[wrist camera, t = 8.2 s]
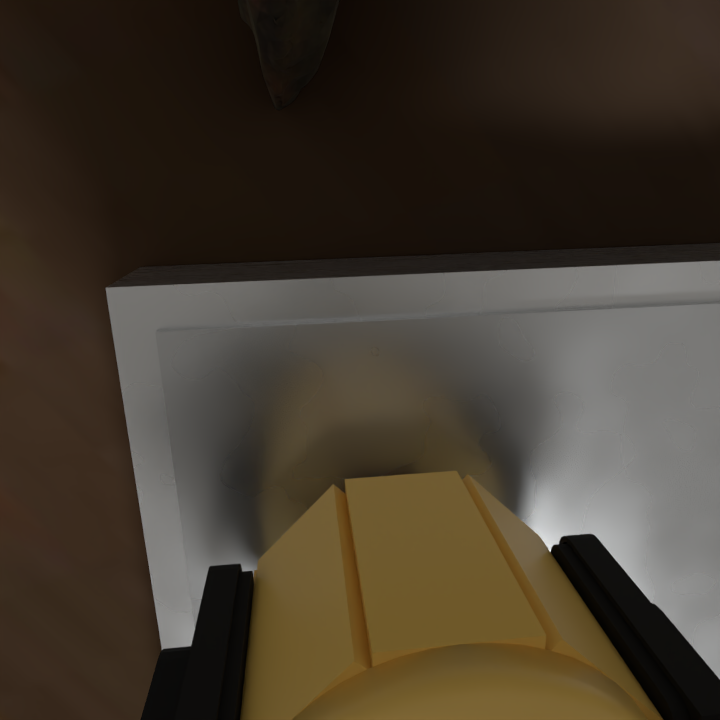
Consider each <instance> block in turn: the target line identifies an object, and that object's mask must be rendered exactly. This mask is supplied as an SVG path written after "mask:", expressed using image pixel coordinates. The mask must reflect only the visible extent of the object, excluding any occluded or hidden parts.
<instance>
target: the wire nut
mask: <svg viewBox="0 0 720 720" xmlns="http://www.w3.org/2000/svg"><path fill="white" fill-rule="evenodd" d="M240 720H663V718H662V717H661V715H660V714H659V712H658V711H657V709H656V708H655V706H654V705H653V703H652V702H651V700H650V699H649V697H648V696H647V694H646V693H645V692H644V690H643V689H642V687H641V686H640V684H639V683H638V681H637V680H636V678H635V677H634V675H633V674H632V672H631V671H630V669H629V668H628V666H627V665H626V663H625V662H624V660H623V659H622V657H621V656H620V654H619V653H618V652H617V650H616V649H615V647H614V646H613V644H612V643H611V641H610V640H609V638H608V637H607V635H606V634H605V632H604V631H603V629H602V628H601V626H600V625H599V623H598V622H597V620H596V619H595V617H594V616H593V614H592V613H591V611H590V610H589V609H588V607H587V606H586V604H585V603H584V601H583V600H582V598H581V597H580V595H579V594H578V592H577V591H576V589H575V588H574V586H573V585H572V583H571V582H570V580H569V579H568V577H567V576H566V574H565V573H564V571H563V570H562V569H561V567H560V566H559V564H558V563H557V561H556V560H555V558H554V557H553V555H552V554H551V552H550V551H549V549H548V548H547V546H546V545H545V543H544V542H543V540H542V539H541V537H540V536H539V535H538V534H537V533H535V532H534V531H533V530H532V529H531V528H530V527H528V526H527V525H526V524H525V523H524V522H523V521H522V520H520V519H519V518H518V517H517V516H516V515H515V514H513V513H512V512H511V511H510V510H509V509H508V508H507V507H505V506H504V505H503V504H502V503H501V502H500V501H498V500H497V499H496V498H495V497H494V496H493V495H491V494H490V493H489V492H488V491H487V490H486V489H485V488H483V487H482V486H481V485H480V484H479V483H478V482H476V481H475V480H474V479H473V478H472V477H471V476H470V475H468V474H467V475H466V476H465V477H464V478H463V479H461V477H460V476H459V474H458V472H457V471H446V472H432V473H419V474H405V475H392V476H378V477H365V478H352V479H345V493H344V492H343V491H341V490H340V489H339V488H338V487H336V486H335V485H334V484H333V485H332V486H331V487H330V488H329V489H328V490H327V491H326V492H325V493H324V494H323V495H322V496H321V497H320V498H319V499H318V500H317V501H316V502H315V503H314V504H313V505H312V506H311V507H310V508H309V509H308V510H307V511H306V512H305V513H304V514H303V515H302V516H301V517H300V518H299V519H298V520H297V521H296V522H295V523H294V524H293V525H292V526H291V527H290V528H289V529H288V530H287V531H286V532H285V533H284V534H283V535H282V536H281V538H280V539H279V540H278V541H277V542H276V543H275V544H274V545H273V546H272V547H271V548H270V549H269V550H268V551H267V552H266V553H265V554H264V555H263V556H262V557H261V558H260V559H259V560H258V565H257V570H254V590H253V600H252V609H251V619H250V629H249V638H248V648H247V657H246V667H245V677H244V686H243V696H242V706H241V715H240Z"/></svg>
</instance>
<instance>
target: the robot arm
mask: <svg viewBox="0 0 720 720" xmlns="http://www.w3.org/2000/svg"><path fill="white" fill-rule="evenodd" d="M551 554H552V555H553V557H554V558H555V560H556V561H557V563H558V564H559V566H560V567H561V569H562V570H563V571H564V573H565V574H566V576H567V577H568V579H569V580H570V582H571V583H572V585H573V586H574V588H575V589H576V591H577V592H578V594H579V595H580V597H581V598H582V600H583V601H584V603H585V604H586V606H587V607H588V609H589V610H590V611H591V613H592V614H593V616H594V617H595V619H596V620H597V622H598V623H599V625H600V626H601V628H602V629H603V631H604V632H605V634H606V635H607V637H608V638H609V640H610V641H611V643H612V644H613V646H614V647H615V649H616V650H617V652H618V653H619V654H620V656H621V657H622V659H623V660H624V662H625V663H626V665H627V666H628V668H629V669H630V671H631V672H632V674H633V675H634V677H635V678H636V680H637V681H638V683H639V684H640V686H641V687H642V689H643V690H644V692H645V693H646V694H647V696H648V697H649V699H650V700H651V702H652V703H653V705H654V706H655V708H656V709H657V711H658V712H659V714H660V715H661V717H662V718H663V720H720V679H719V678H718V677H717V675H716V674H715V673H714V672H713V671H712V670H711V668H710V667H709V666H708V665H707V664H706V662H705V661H704V660H703V659H702V658H701V656H700V655H699V654H698V653H697V652H696V650H695V649H694V648H693V647H692V646H691V645H690V643H689V642H688V641H687V640H686V639H685V637H684V636H683V635H682V634H681V633H680V631H679V630H678V629H677V628H676V627H675V625H674V624H673V623H672V622H671V621H670V620H669V618H668V617H667V616H666V615H665V614H664V612H663V611H662V610H661V609H660V608H659V607H658V606H657V605H655V604H653V603H651V602H650V601H649V600H648V598H647V597H646V596H645V595H644V594H643V592H642V591H641V590H640V589H639V588H638V586H637V585H636V584H635V583H634V581H633V580H632V579H631V578H630V577H629V575H628V574H627V573H626V572H625V571H624V569H623V568H622V567H621V566H620V565H619V563H618V562H617V561H616V560H615V559H614V557H613V556H612V555H611V554H610V553H609V551H608V550H607V549H606V548H605V547H604V545H603V544H602V543H601V542H600V541H599V539H598V538H597V537H596V536H595V535H594V534H580V535H568V536H563V537H561V539H560V541H559V544H556V545H553V546H552V548H551ZM253 590H254V577H253V571H243V572H242V567H241V564H240V563H239V564H227V565H216V566H210V567H209V569H208V573H207V577H206V582H205V586H204V591H203V595H202V600H201V604H200V609H199V613H198V618H197V622H196V626H195V631H194V635H193V640H192V644H191V646H187V647H177V648H166V649H163V650H162V651H161V653H160V655H159V658H158V661H157V665H156V668H155V672H154V675H153V679H152V682H151V685H150V689H149V692H148V696H147V699H146V703H145V706H144V710H143V713H142V717H141V720H240V715H241V706H242V696H243V686H244V677H245V667H246V657H247V648H248V638H249V629H250V619H251V609H252V600H253Z"/></svg>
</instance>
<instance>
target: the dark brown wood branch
mask: <svg viewBox="0 0 720 720" xmlns="http://www.w3.org/2000/svg"><path fill="white" fill-rule="evenodd" d="M339 2H340V0H238V5H239V11H240V16H241V19H242V20H243V21H245V22H246V23H247V24H248V25H249V27H250V28H251V30H252V32H253V33H254V37H255V40H256V45H257V49H258V54H259V59H260V64H261V68H262V73H263V78H264V80H265V83H266V86H267V88H268V91H269V94H270V97H271V99H272V102H273V105H274V107H275V109H277V110H281V109H283V108H284V107H286V106H287V105H289V104H290V103H292V102H293V101H294V100H295V99H296V97H297V96H298V94H299V92H300V90H301V89H302V88H303V87H305V86H306V85H307V84H308V82H309V81H310V80H311V79H312V77H313V76H314V75H315V74H316V72H317V70H318V68H319V65H320V63H321V60H322V57H323V55H324V52H325V49H326V47H327V44H328V41H329V37H330V34H331V30H332V27H333V23H334V20H335V16H336V11H337V7H338V3H339Z"/></svg>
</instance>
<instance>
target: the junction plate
mask: <svg viewBox="0 0 720 720" xmlns="http://www.w3.org/2000/svg"><path fill="white" fill-rule="evenodd" d="M106 295H107V301H108V307H109V314H110V320H111V327H112V333H113V339H114V346H115V352H116V359H117V365H118V371H119V378H120V384H121V391H122V397H123V404H124V410H125V416H126V423H127V429H128V436H129V442H130V448H131V455H132V461H133V468H134V474H135V480H136V487H137V493H138V500H139V506H140V512H141V519H142V525H143V532H144V538H145V544H146V551H147V557H148V564H149V570H150V576H151V583H152V589H153V596H154V602H155V608H156V615H157V621H158V628H159V634H160V640H161V647H162V650H163V649H166V648H177V647H187V646H191V644H192V640H193V635H194V631H195V626H196V622H197V618H198V613H199V609H200V604H201V600H202V595H203V591H204V586H205V582H206V577H207V573H208V569H209V567H210V566H216V565H227V564H239V563H240V564H241V567H242V572H243V571H253V577H254V570H257V565H258V560H259V559H260V558H261V557H262V556H263V555H264V554H265V553H266V552H267V551H268V550H269V549H270V548H271V547H272V546H273V545H274V544H275V543H276V542H277V541H278V540H279V539H280V538H281V536H282V535H283V534H284V533H285V532H286V531H287V530H288V529H289V528H290V527H291V526H292V525H293V524H294V523H295V522H296V521H297V520H298V519H299V518H300V517H301V516H302V515H303V514H304V513H305V512H306V511H307V510H308V509H309V508H310V507H311V506H312V505H313V504H314V503H315V502H316V501H317V500H318V499H319V498H320V497H321V496H322V495H323V494H324V493H325V492H326V491H327V490H328V489H329V488H330V487H331V486H332V485H333V484H334V485H335V486H336V487H338V488H339V489H340V490H341V491H343V492H344V493H345V479H352V478H365V477H378V476H392V475H405V474H419V473H432V472H446V471H457V472H458V474H459V476H460V477H461V479H463V478H464V477H465V476H466V475H467V474H468V475H470V476H471V477H472V478H473V479H474V480H475V481H476V482H478V483H479V484H480V485H481V486H482V487H483V488H485V489H486V490H487V491H488V492H489V493H490V494H491V495H493V496H494V497H495V498H496V499H497V500H498V501H500V502H501V503H502V504H503V505H504V506H505V507H507V508H508V509H509V510H510V511H511V512H512V513H513V514H515V515H516V516H517V517H518V518H519V519H520V520H522V521H523V522H524V523H525V524H526V525H527V526H528V527H530V528H531V529H532V530H533V531H534V532H535V533H537V534H538V535H539V536H540V537H541V539H542V540H543V542H544V543H545V545H546V546H547V548H548V549H549V551H550V552H551V548H552V546H553V545H556V544H559V541H560V539H561V537H563V536H568V535H580V534H594V535H595V536H596V537H597V538H598V539H599V541H600V542H601V543H602V544H603V545H604V547H605V548H606V549H607V550H608V551H609V553H610V554H611V555H612V556H613V557H614V559H615V560H616V561H617V562H618V563H619V565H620V566H621V567H622V568H623V569H624V571H625V572H626V573H627V574H628V575H629V577H630V578H631V579H632V580H633V581H634V583H635V584H636V585H637V586H638V588H639V589H640V590H641V591H642V592H643V594H644V595H645V596H646V597H647V598H648V600H649V601H650V602H651V603H653V604H655V605H657V606H658V607H659V608H660V609H661V610H662V611H663V612H664V614H665V615H666V616H667V617H668V618H669V620H670V621H671V622H672V623H673V624H674V625H675V627H676V628H677V629H678V630H679V631H680V633H681V634H682V635H683V636H684V637H685V639H686V640H687V641H688V642H689V643H690V645H691V646H692V647H693V648H694V649H695V650H696V652H697V653H698V654H699V655H700V656H701V658H702V659H703V660H704V661H705V662H706V664H707V665H708V666H709V667H710V668H711V670H712V671H713V672H714V673H715V674H716V675H717V677H718V678H719V679H720V243H709V244H685V245H660V246H636V247H612V248H587V249H563V250H539V251H515V252H490V253H466V254H442V255H417V256H393V257H369V258H344V259H320V260H296V261H271V262H247V263H223V264H199V265H174V266H150V267H140V268H138V269H136V270H135V271H133V272H131V273H129V274H128V275H126V276H124V277H123V278H121V279H119V280H118V281H116V282H114V283H113V284H111V285H109V286H107V287H106Z"/></svg>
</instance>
